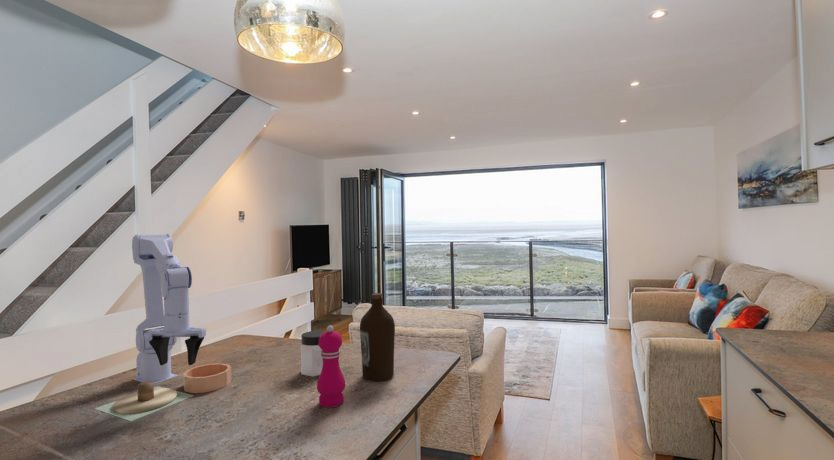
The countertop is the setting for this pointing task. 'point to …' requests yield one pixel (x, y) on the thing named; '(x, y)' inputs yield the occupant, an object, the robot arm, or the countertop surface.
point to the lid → (144, 399)
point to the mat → (131, 417)
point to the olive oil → (377, 341)
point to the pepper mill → (330, 370)
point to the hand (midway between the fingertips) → (177, 364)
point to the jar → (311, 354)
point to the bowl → (207, 378)
